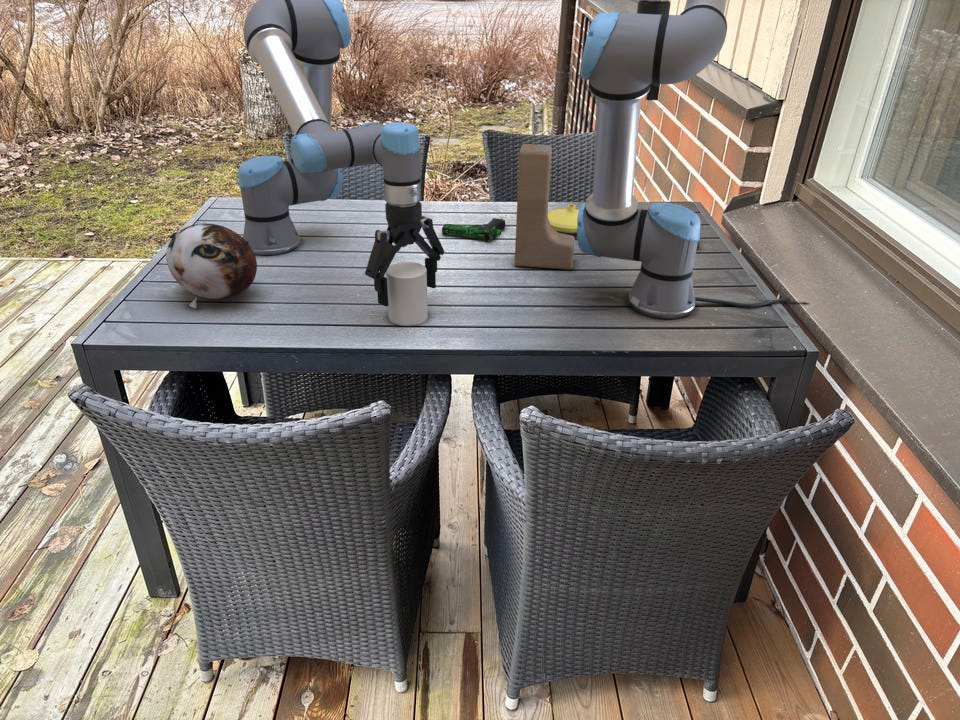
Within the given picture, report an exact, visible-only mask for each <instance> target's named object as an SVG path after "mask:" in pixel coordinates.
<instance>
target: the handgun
mask: <svg viewBox="0 0 960 720" xmlns="http://www.w3.org/2000/svg"><path fill="white" fill-rule="evenodd" d="M505 228H506V220H505V219H503V218H497V217H492V219H491V220H490V221H489V222H488V223H483V224H482V225H479V224H472V225H459V224H453V223H445V224H443V226H442V227H441V235H446V236H454V237H462V238H469V239H470V238H471V239H474V240H479V241H484V242H491V241H492V240H494V239H495V238H497V237H500V236H502V230H504V229H505Z"/></svg>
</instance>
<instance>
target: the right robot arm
mask: <svg viewBox="0 0 960 720" xmlns="http://www.w3.org/2000/svg"><path fill="white" fill-rule="evenodd" d="M727 2H728V0H686V1H685V5H684V8H683V9H684V10H683V11H681V12H680V14H670V11H671V1H670V0H638V2H637V9H636V13H635V12H634V13H633V12H621V11H616V12H600V13H598V14H596V15H594V17H593V19H592V20H591V22H590V26H589V28H588V31H587V35H586V38H585V42H584V46H583V47H584V48H583V52H582V53H583V54H582V57H581V62H580V63H581V64H580V79H582V80H585V81H589V83H588V85H589V92H590V94H591V95H592V96H593V97H595V98H596V106H595V107H596V108H595V109H596V110H595V132H594V154H593V155H594V156H593V157H594V159H593V177H592V180H593V181H592V194H590V195H589V196H588V197H587V198H586V200H585V202H583V203H582V204H581V205H580V206H579V208H578V209H579V212H578V218H577V233H576V239H577V244H578V248H579V249H580V251H581V252H582V253H584V254H585V255H589V256H594V257H596V258H597V257H598V258H601V257H602V258H603V257H604V258H608V259H609V258H611V259H618V260H625V261H634V262H639V263H641V264H640V269H639V273H638V275H637V276H636V279H635V281H634V282H633V285H632V287H631V288H630V291H629V293H628V299H627V303H628V305H629V307H630V308H631V309H633V310H634V311H635V312H637V313H639V314H641V315H643V316H647V317H650V318H655V319H660V320H661V319H662V320H675V319H681V318H686V317H688V316H690V315H691V314H692V313H693V312H694V311H695V307H696V302H701V303H711V304H718V305H726V306H732V307H738V308H760V307H764V306H767V305H769V304H774V303H775V304H776V303H782V302H788V301H789V302H790V301H791V300H790V298H789V297H790V296H785V297H780V298H779V297H778V298H777V299H778V300H772V301H770V300H771V299H768V300H765V301H761V302H755V303H745V302H744V303H743V302H736V301H731V300H730V301H729V300H722V299H715V298H707V297H699V296H698V297H697V296H695V295H696V294H695V290H694V283H693V272H694V267H695V266H694V265H695V260H696V254H697V250H698V249H697V243H699V240H700V238H701V234H700V233H701V225H702V223H701V218H700V217H699V214H697V213H696V212H695V211H693V210H691V209H690V208H687V207H686V206H683V205H680V204H676V203H671V202H665V201H663V202H658V201H657V202H653V203H651V204H650V205H649V207H648V208H647V209H643V208H639V201H638V199H637V197H636V196H635V195H634V194H633V193H634V181H635V172H636V170H635V169H636V159H637V149H638V139H639V138H638V137H639V127H640V117H641V105H642V98H644V97H645V101H659V95H660V94H659V93H660V86H661V85H665V86H666V85H675V84H679V83H682V82H685V81H688V80H689V79H691V78H692V77H694V76H696V75H698V74H699V73H700V72H702V71H704V70H705V69H706V68H707V67H708V66H709V65H710V64H711V63H712V62H713V61H715V59H716V57H717V56H718V55H719V53H720V52H721V50H722V48H723V46H724V43H725V42H726V38H727V32H728V22H727V18H726V16H725V12H726V7H727Z"/></svg>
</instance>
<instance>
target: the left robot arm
mask: <svg viewBox="0 0 960 720" xmlns="http://www.w3.org/2000/svg"><path fill="white" fill-rule="evenodd" d="M243 40H244V45H245V48H246V50H247V52H248V55H249V56H250V58H251V60H252V61H253V62H254V63H255V64H256V65H259V66H260V68H261V70H262V73H263V74H264V76H265V78H266V80H267V83H268V85H269V86H270V88H271V91H272V92H273V94H274V97H275V99H276V100H277V103H278V105H279V107H280V108H281V111H282V113H283V115H284V117H285V119H286V122H287V123H288V126H289V127H290V129H291V131H292V134H293V135H294V136H292V137H291V140H290V159H289V160H283V158H282V157H281V156H279V155H272V154H271V155H262V156H257V157H253V158H250V159H248V160H245V161H244V162H243V163H241V165H240V166H239V167H238V170H237V174H238V186H239V190H240V196H241V201H242V208H243V212H244V213H243V215H244V219H245V220H244V226H243V228H244V229H243V235H242V237H243V238H244V239H245V240H246V241H249V242H248V244H249V245H250V247H251V248H252V250H253V252H254V254H255V256H256V255H257V256H275V255H281V254H282V255H283V254H285V253H289V252H291V251H293V250H296V249H297V248H298V247H299V246H300V244H301V241H300V235H299V233H298V231H297V229H296V227H295V225H294V223H293V220H292V218H291V216H290V206H295V205H301V204H308V203H315V202H325V201H327V200H331V199H334V198H336V197H338V196H339V195H340V193H341V192H342V189H343V184H344V173H343V169H346V168H355V167H361V166H362V167H363V166H368V165H374V164H375V165H376V164H377V165H379V166H381V167H382V173H383V194H384V196H383V197H384V201H385V202H386V203H385V204H384V209H385V220H386V222H387V229H386V230H380V229H375V231H374V243H373V246H372V248H371V252H370V254H369V258H368V262H367V265H366V268H365V270H364V274H365V276H366V277H369V278H370V279H373V285H374V286H373V287H374V288H373V289H374V291H375V292H376V293H377V304H379V305H381V306H383V307H385V308H388V306H389V304H388V288H387V278H386V271H387V269H388V268H389V266H390V265H392V262H393V260H394V258H395V256H396V255H397V253H398V252H400V250H401V248H405V247H408V246H409V245H410V246H411V245H414V244H416V246H418V248H420V250H421V251H422V252H423V253H424V254H425V255H426V256H427V257H425V258H424V266H425V267H426V269H427V287H429V288H431V289H433V290H434V289H436V288H437V279H436V278H437V277H436V276H437V275H436V273H437V272H438V262H439V261H441V259H442V256H443V255H445V249H444V247H443V245H442V242H441V240H440V239H439V236H438V234H437V233H436V230H435V229H434V222H433V219H432V218H430V217H427V216H425V215H423V211H422V210H423V209H422V204H423V203H422V202H421V200H422V181H421V142H420V135H419V133H420V132H419V128H418V127H417V125H415V124H414V123H410V122H409V123H408V122H401V121H399V122H397V121H396V122H389V123H385V124H383V123H379V122H374V121H373V122H372V121H368V122H364V123H363V124H361V125H360V126H358V127H353V128H346V129H345V128H343V129H337V130H336V129H335V130H333V128H332V111H333V110H332V108H333V107H332V106H333V82H334V81H333V80H334V65H335V64H337V63H338V62H339V61H340V59H341V49H342V50H344V49H346V48H348V47H349V45H350V44H351V27H350V21H349V17H348V14H347V11H346V9H345V6H344V4H343V3H342V1H341V0H257V1H256V2H255V3H254V4H253V5H252V6H251V8H250V9H249V11H248V13H247V14H246V17H245V20H244V25H243ZM421 230H422V231H423V234H424V235H425V237H426V239H427V241H428V243H427V241H426V240H425V238H424V237H423V236H422V235H421V234H420V232H421ZM178 232H179V231H176V232H174V233H172V234H171V235H170V236H169V239H172V238H173V237H174V235H176V234H177V233H178Z"/></svg>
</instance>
